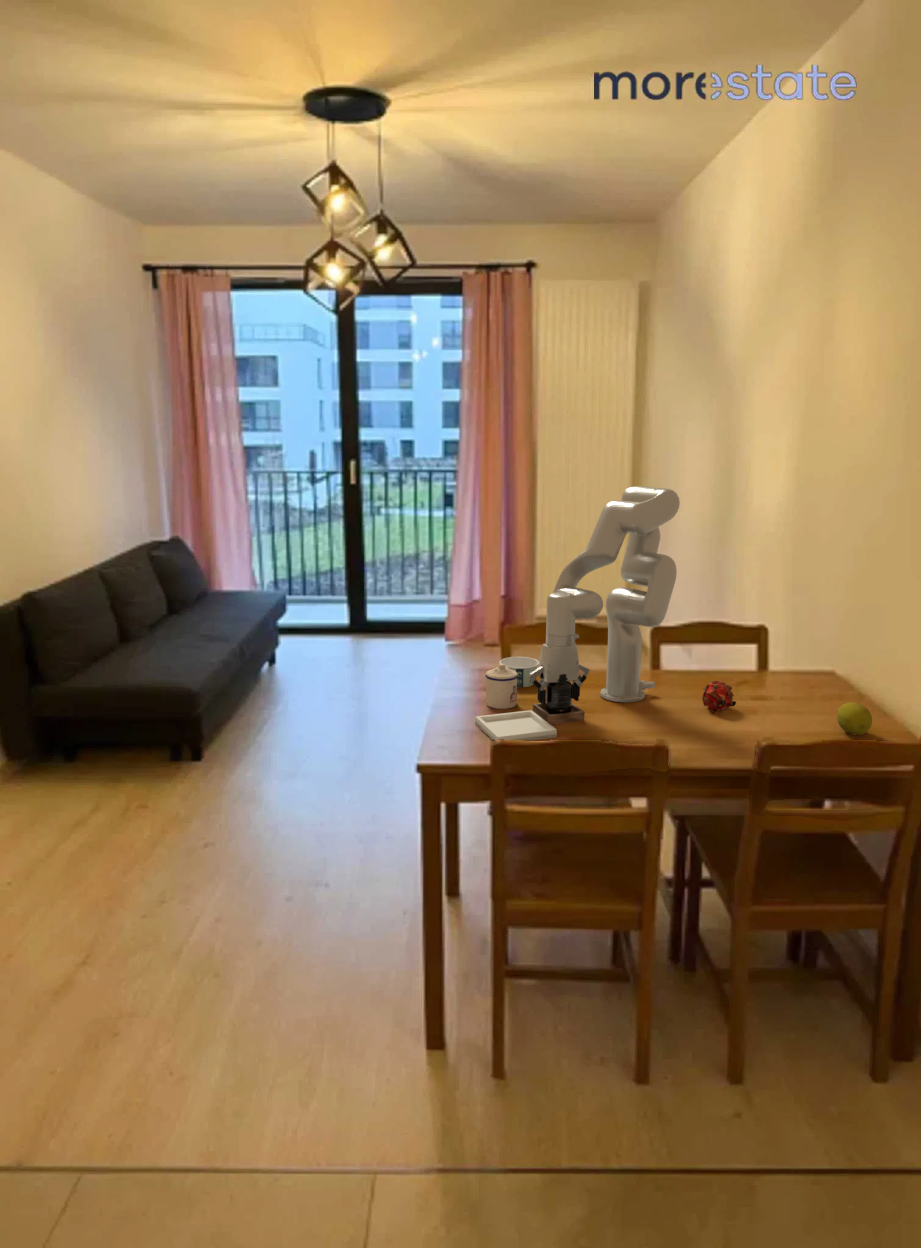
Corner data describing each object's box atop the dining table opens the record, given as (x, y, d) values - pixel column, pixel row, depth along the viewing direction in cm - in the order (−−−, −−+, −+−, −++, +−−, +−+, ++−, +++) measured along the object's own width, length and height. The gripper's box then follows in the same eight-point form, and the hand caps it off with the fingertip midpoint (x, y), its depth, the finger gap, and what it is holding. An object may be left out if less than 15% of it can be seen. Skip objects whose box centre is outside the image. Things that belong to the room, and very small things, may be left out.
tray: (531, 717, 245) (531, 710, 245) (556, 737, 231) (556, 729, 230) (475, 723, 240) (475, 716, 240) (497, 744, 226) (497, 737, 225)
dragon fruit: (715, 707, 258) (722, 727, 247) (692, 690, 257) (697, 710, 246) (736, 685, 255) (743, 705, 244) (712, 668, 254) (719, 687, 243)
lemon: (875, 741, 228) (879, 710, 226) (843, 740, 229) (846, 709, 227) (861, 726, 239) (864, 697, 237) (830, 725, 239) (833, 696, 237)
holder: (567, 708, 252) (567, 700, 252) (584, 720, 243) (584, 711, 242) (532, 712, 249) (532, 704, 248) (548, 725, 239) (548, 716, 239)
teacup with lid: (517, 710, 251) (517, 669, 248) (484, 709, 252) (484, 668, 249) (518, 696, 263) (519, 657, 260) (486, 695, 263) (487, 656, 261)
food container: (500, 676, 282) (500, 656, 281) (539, 677, 281) (539, 657, 279) (498, 688, 271) (498, 667, 269) (538, 689, 269) (539, 668, 268)
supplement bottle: (543, 710, 249) (544, 668, 246) (568, 710, 249) (569, 667, 246) (548, 719, 242) (549, 675, 239) (573, 718, 242) (574, 675, 240)
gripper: (583, 633, 247) (581, 694, 251) (524, 638, 241) (523, 700, 245) (596, 640, 240) (594, 702, 244) (535, 645, 235) (534, 709, 239)
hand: (558, 701), depth 245 cm, fingers open, 9 cm apart
